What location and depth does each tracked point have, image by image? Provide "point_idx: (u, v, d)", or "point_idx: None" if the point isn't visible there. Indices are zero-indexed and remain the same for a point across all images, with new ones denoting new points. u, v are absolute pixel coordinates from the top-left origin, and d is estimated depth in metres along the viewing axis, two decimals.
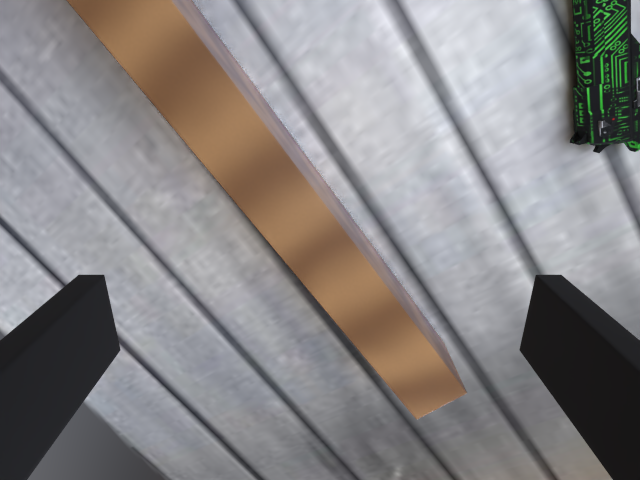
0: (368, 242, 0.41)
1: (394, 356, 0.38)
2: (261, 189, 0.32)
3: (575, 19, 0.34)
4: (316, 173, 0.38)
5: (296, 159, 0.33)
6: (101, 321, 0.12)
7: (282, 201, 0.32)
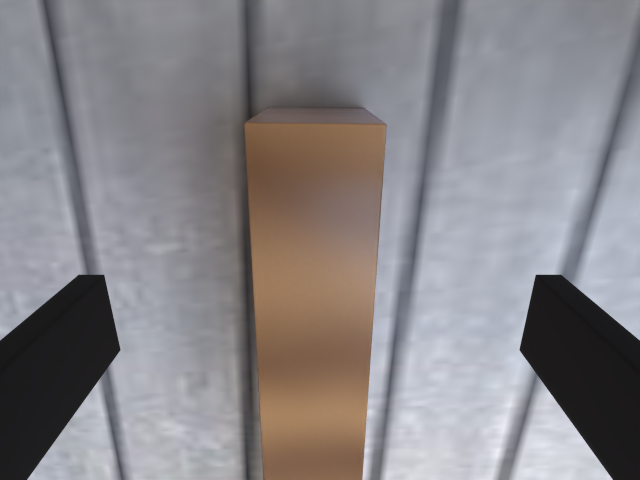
0: None
1: None
2: None
3: None
4: None
5: None
6: (101, 321, 0.12)
7: None
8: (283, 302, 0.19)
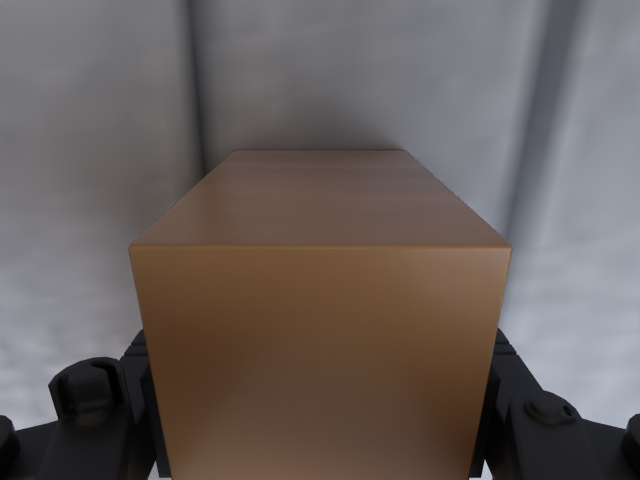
0: None
1: None
2: None
3: None
4: None
5: None
6: None
7: None
8: None
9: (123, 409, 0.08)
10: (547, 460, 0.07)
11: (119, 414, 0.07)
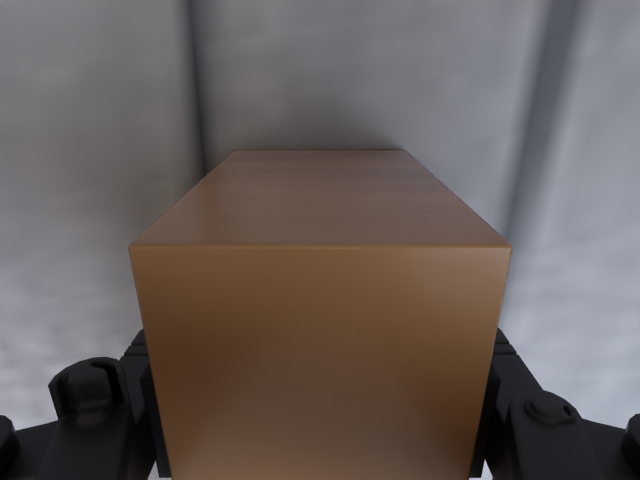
0: None
1: None
2: None
3: None
4: None
5: None
6: None
7: None
8: None
9: (123, 409, 0.08)
10: (547, 460, 0.07)
11: (119, 414, 0.07)
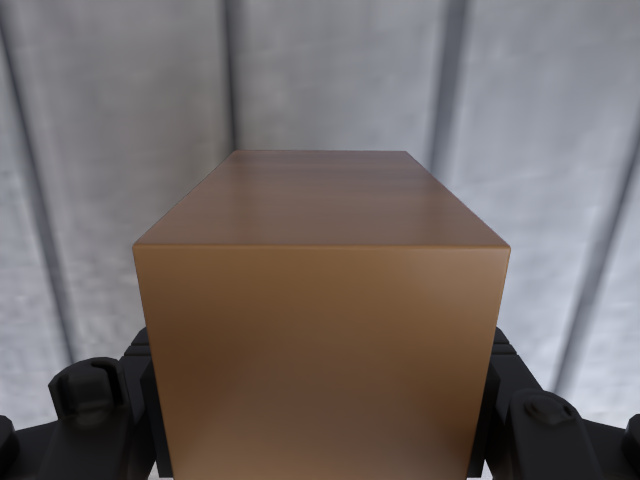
0: None
1: None
2: None
3: None
4: None
5: None
6: None
7: None
8: None
9: (123, 409, 0.08)
10: (547, 460, 0.07)
11: (119, 414, 0.07)
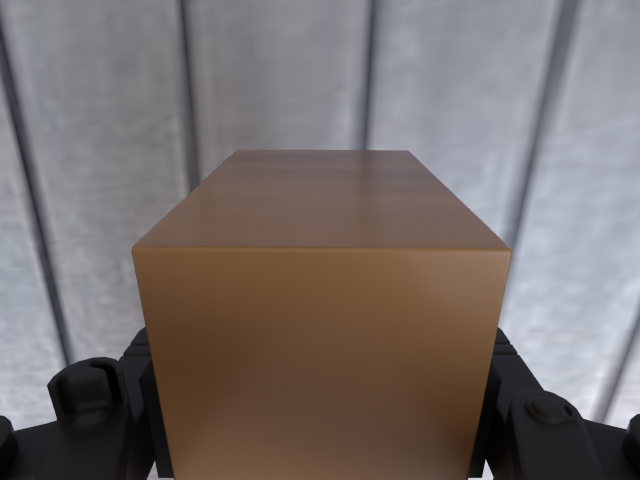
0: None
1: None
2: None
3: None
4: None
5: None
6: None
7: None
8: None
9: (122, 409, 0.08)
10: (548, 460, 0.07)
11: (118, 414, 0.07)
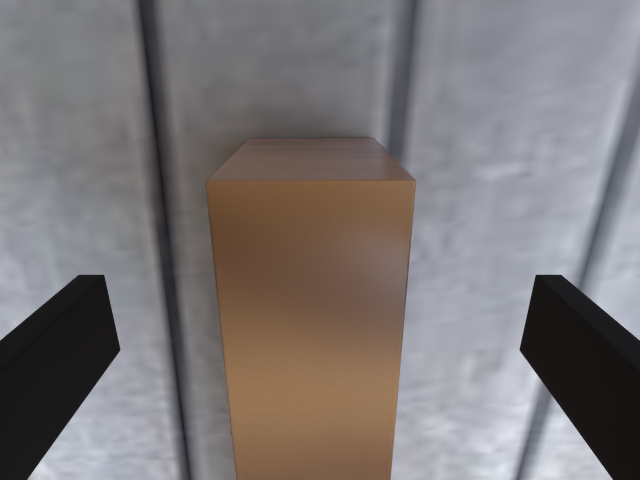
0: None
1: None
2: None
3: None
4: None
5: None
6: (101, 321, 0.12)
7: None
8: (270, 416, 0.14)
9: None
10: None
11: None
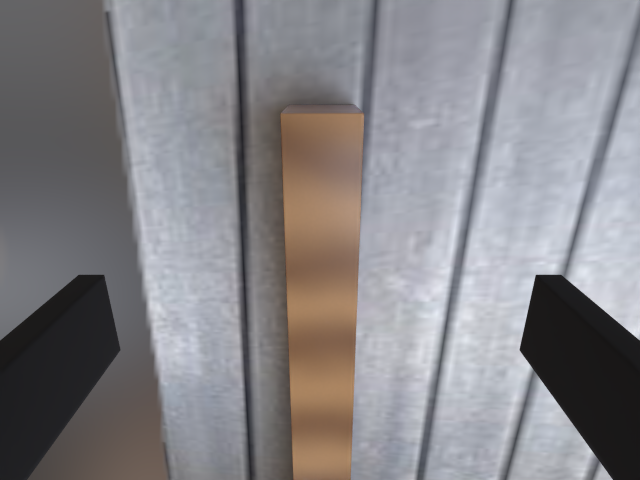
0: None
1: None
2: (316, 431, 0.38)
3: None
4: None
5: None
6: (101, 321, 0.12)
7: (324, 444, 0.39)
8: (302, 226, 0.31)
9: None
10: None
11: None
